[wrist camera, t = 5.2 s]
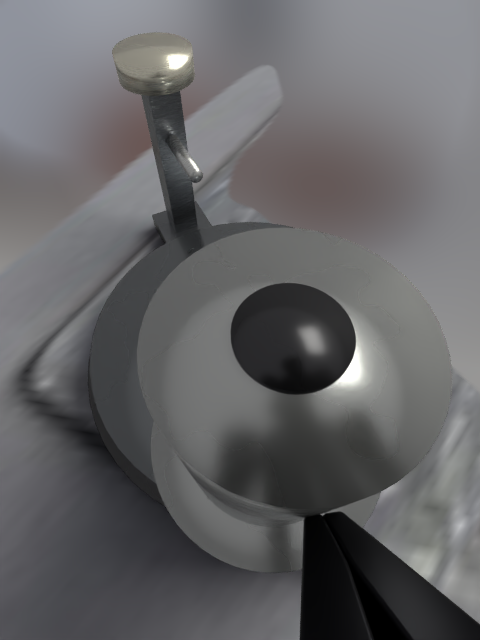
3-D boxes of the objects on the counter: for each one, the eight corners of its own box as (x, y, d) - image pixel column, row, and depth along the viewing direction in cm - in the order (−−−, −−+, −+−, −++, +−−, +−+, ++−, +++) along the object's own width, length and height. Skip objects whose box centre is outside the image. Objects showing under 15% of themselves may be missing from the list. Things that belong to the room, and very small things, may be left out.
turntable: (471, 353, 18) (492, 336, 17) (253, 642, 12) (255, 656, 11) (250, 203, 24) (251, 180, 23) (32, 348, 18) (13, 330, 17)
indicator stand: (152, 224, 23) (103, 41, 15) (198, 209, 24) (175, 27, 16) (182, 281, 21) (143, 100, 12) (232, 263, 21) (227, 80, 13)
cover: (414, 443, 14) (603, 336, 7) (269, 638, 11) (328, 828, 4) (262, 315, 17) (279, 149, 10) (116, 438, 14) (-15, 327, 7)
